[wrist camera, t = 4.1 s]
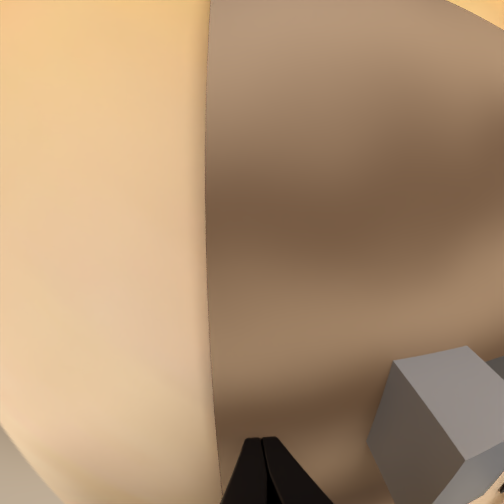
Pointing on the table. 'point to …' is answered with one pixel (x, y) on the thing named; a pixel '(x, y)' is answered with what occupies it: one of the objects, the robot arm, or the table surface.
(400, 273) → the base board
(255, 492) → the robot arm
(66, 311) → the table surface
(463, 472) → the plug
